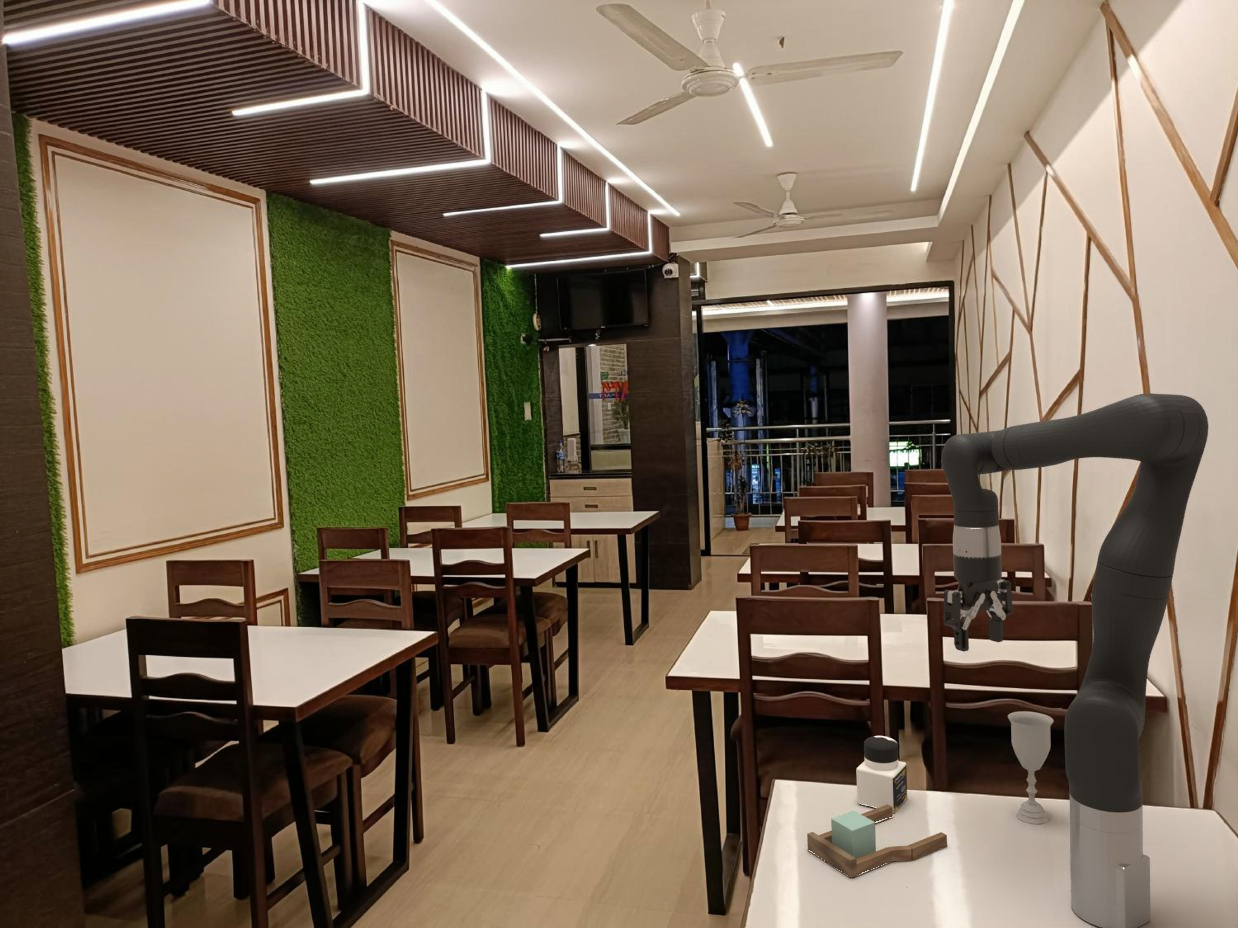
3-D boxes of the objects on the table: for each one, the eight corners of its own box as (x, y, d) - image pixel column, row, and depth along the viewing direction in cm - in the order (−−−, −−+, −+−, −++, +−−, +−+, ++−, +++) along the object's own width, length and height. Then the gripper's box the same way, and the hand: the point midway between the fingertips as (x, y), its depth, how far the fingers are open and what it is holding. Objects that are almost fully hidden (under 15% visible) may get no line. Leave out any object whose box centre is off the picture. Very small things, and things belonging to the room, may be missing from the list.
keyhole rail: (947, 846, 148) (946, 829, 148) (858, 882, 139) (857, 864, 139) (887, 814, 160) (887, 798, 160) (801, 846, 151) (801, 829, 150)
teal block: (876, 856, 146) (875, 822, 146) (853, 865, 144) (852, 830, 144) (854, 844, 151) (853, 810, 150) (832, 852, 148) (831, 818, 148)
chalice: (1008, 821, 155) (1006, 722, 154) (1010, 804, 161) (1009, 709, 160) (1054, 829, 152) (1052, 727, 150) (1055, 811, 158) (1054, 714, 156)
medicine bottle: (894, 814, 160) (892, 750, 159) (856, 804, 165) (854, 742, 164) (908, 798, 166) (906, 736, 165) (871, 789, 170) (869, 729, 169)
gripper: (966, 560, 142) (969, 658, 143) (1024, 548, 149) (1026, 642, 150) (929, 554, 148) (932, 648, 150) (986, 543, 155) (989, 633, 156)
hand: (979, 645), depth 150 cm, fingers open, 8 cm apart
